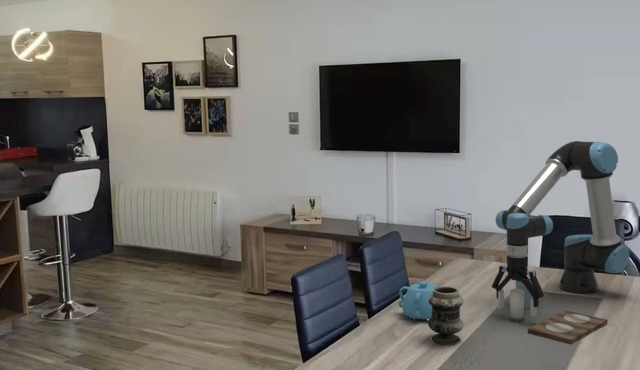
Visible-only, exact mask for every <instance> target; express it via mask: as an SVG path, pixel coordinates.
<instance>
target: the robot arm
mask: <svg viewBox="0 0 640 370" xmlns="http://www.w3.org/2000/svg"><path fill="white" fill-rule="evenodd" d="M618 163H619V156H618V153H617V150H616V149H615V147H614V146H612V145H611V144H610V143H609V142H608V143H607V142H602V141H579V140H575V141H574V140H573V141H570V142H568V143H565V144H562V146H561V147H559V148H557V149H556V150H555V151H554V152H553V153H552V154H551V155H550V156H549V157H548V158H547V159H546V161H545V166H544V167H543V168H542V170H540V172H539V173H538V174H537V175H536V176H535V177H534V179H532V181H531V182H530V183H529V184H528V186H527V187H526V188H525V189H524V191H523V192H522V193H521V194H520V195H519V197H518V198H516V199H515V201H514V202H513V203H512V205H511V206H510V207H509V208H508V209H507V210H503V209H502V210H500V211H498V213H497V214H496V216H495V224H496V226H497V227H498V228H499V229H501V230H504V231H506V265H505V264H503V265H499V267H498V272H497V274H496V277H495V278H494V280H493V282H492V284H491V288H492V289H494V290H495V291H496V297H495V298H496V299H497V301H498V302H497V308H498V309H502V308H504V307H505V290H504V287H505V286H506V285H507V284H508V283H509V282H510V281H515V280H517V281H521V282H522V283H523V284H524V285H525V287H526V288H527V290H528V291H529V293H530V294H531V296H532V297H533V298H531V308H530V316H531V317H534V316H537V313H538V312H537V309H538V307H539V306H540V305H539V304H540V302H539V301H540V300H539V299H541V298H544V297H545V294H544V292H543V290H542V287H541V285H540V282H539V280H538V278H537V271H536V270H528V265H529V257H528V255H529V239H531V238H535V237H543V236H546V235H549V234H551V232H552V231H553V229H554V222H553V220H552V218H551V217H550V216H548V215H546V214H544V215H543V214H542V215H541V214H539V215H532V212H533V211H534V210H535V209H536V208H537V207H538V206H539V204H540V203H541V202H542V201H543V199H544V198H545V197H546V196H547V194H548V193H549V192H550V191H551V190H552V189H553V188H554V187H555V185H556V184H557V183H558V182H559V180H561V178H562V177H566V175H568V174H569V173H570V172H572V171H579V172H580V178H581V179H582V180H583V181H585V184H586V185H585V186H586V193H587V198H588V199H587V201H588V208H589V213H590V216H589V217H590V223H591V230H592V234H574V235H568V236H567V237H565V239H564V245H563V248H564V249H563V251H564V252H563V254H564V256H563V257H564V260H563V261H564V263H563V264H564V266H563V267H564V269H563V272H562V275H561V278H560V281H559V288H560V289H561V290H562V291H565V292H569V293H574V294H591V293H596V292H598V291H599V289H598V288H599V287H598V286H599V284H598V280H597V278H596V274H595V270H599V271H603V272H606V273H612V274H618V273H621V272H622V271H623V270H625V268H626V267H627V264H629V263H628V262H629V260H630V250H629V248H628V247H627V246H626V245H623V244H622V238H621V237H620V236H619V235H618V234H617V231H616V223H615V215H614V214H615V213H614V208H613V207H614V206H613V205H614V204H613V199H612V197H613V196H612V191H611V182H610V178H611V177H612V176H613V175H614V173H613V172H614V171H616V169H617V168H618V166H617V164H618ZM594 269H595V270H594ZM505 273H507V275H506V276H505V277H504V274H505ZM503 277H504V279H503ZM502 279H503V280H502ZM524 279H525V280H524ZM529 279H530V280H531V282H532V284H531V282H530V281H529Z"/></svg>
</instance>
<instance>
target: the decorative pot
mask: <svg viewBox="0 0 640 370" xmlns="http://www.w3.org/2000/svg"><path fill="white" fill-rule="evenodd" d="M436 287H438V285H436V284H431V283H429V282H427V281H424V280H423V281H422V280H421V281H419V282H418V283H413V284H412V285H410V286H408V285H407V286H406V285H405V286H402V287H401V288H400V289H399V291H398V294H399V297H400V300H399V302H398V307H400V308H401V309H402V312H403V313H404V315H405V316H406V317H409V318H410V317H411V318H416V319H415V320H426V319H430V318H431V317H432V306H431V305H430V304H429V297H430V296H431V295H432V294H433V290H434V288H436ZM403 290H407V291H406V292H405V296H404V294H403Z"/></svg>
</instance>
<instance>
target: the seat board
mask: <svg viewBox="0 0 640 370" xmlns="http://www.w3.org/2000/svg"><path fill="white" fill-rule="evenodd" d="M606 325H608V319H606V318H602V317H597V316H593V315H589V314H584V313H579V312H574V311H569V310H566V309H565V310H563V311H561V312H560V313H556V314H555V315H553V316H551V317H549V318H547V319H544V320H542V321H541V322H539V323H537V324H535V325H532V326H530V327H529V328H527V333H528V334H531V335H534V336H539V337H542V338H547V339H550V340H554V341H556V342H557V341H558V342H562V343H564V344H565V343H566V344H569V345H572V344H574V343H576V342H578V341H579V340H581V339H583V338H585V337H586V336H588V335H590V334H592V333H594V332H596V331H597V330H599V329H600V328H602V326H603V327H604V326H606Z"/></svg>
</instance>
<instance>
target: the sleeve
mask: <svg viewBox="0 0 640 370" xmlns="http://www.w3.org/2000/svg"><path fill="white" fill-rule="evenodd" d="M509 320H510V321H511V322H513V323H522V322H524V321H525V308H524V291H523V290H520V289H516V288H514V289H510V291H509Z"/></svg>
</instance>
